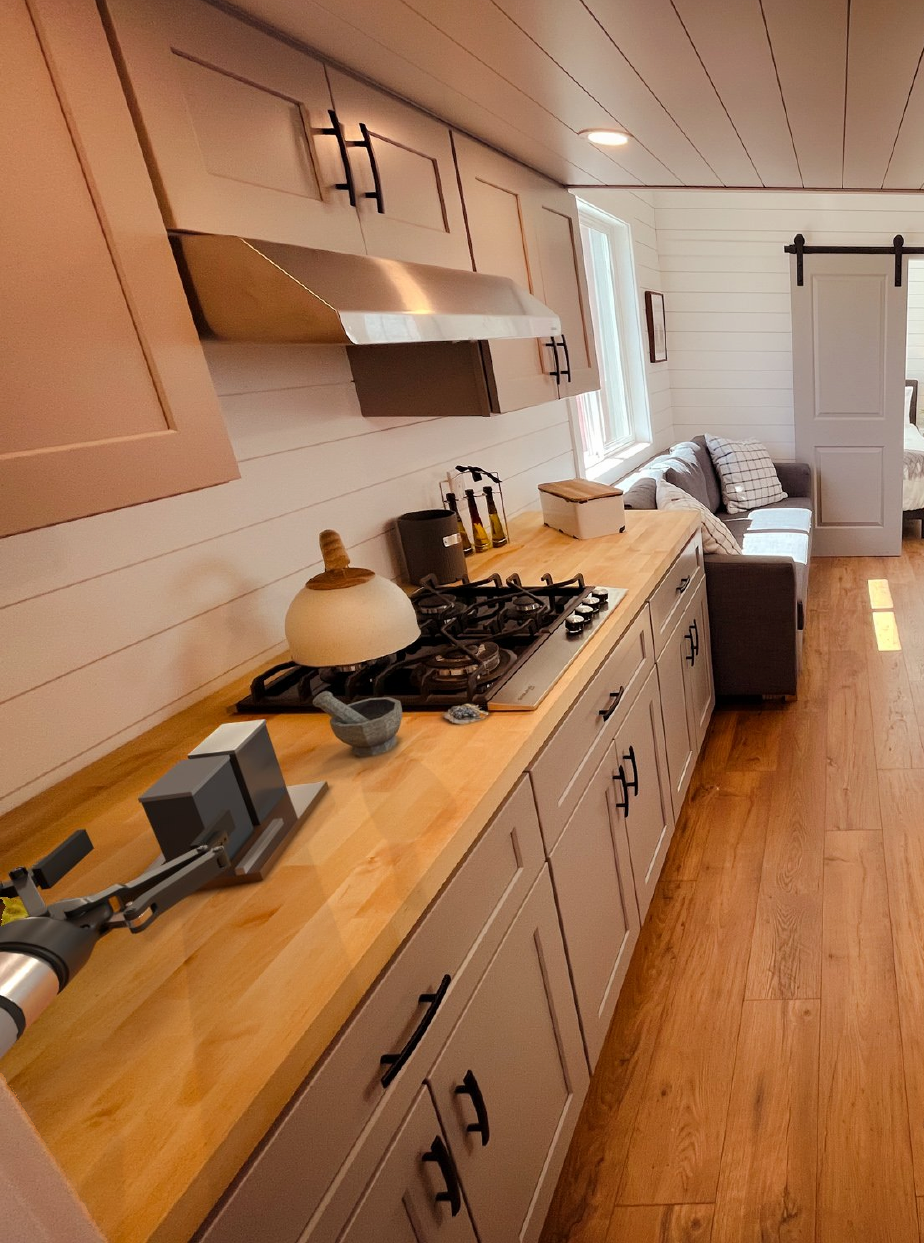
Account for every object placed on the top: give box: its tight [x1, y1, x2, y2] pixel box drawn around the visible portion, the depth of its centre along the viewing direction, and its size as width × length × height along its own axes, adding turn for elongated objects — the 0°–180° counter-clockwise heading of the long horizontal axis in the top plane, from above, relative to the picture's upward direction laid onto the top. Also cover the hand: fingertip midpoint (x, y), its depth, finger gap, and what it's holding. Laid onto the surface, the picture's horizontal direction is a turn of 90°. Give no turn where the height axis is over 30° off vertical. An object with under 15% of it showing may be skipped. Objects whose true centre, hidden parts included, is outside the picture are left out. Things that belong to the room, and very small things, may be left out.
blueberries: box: [441, 703, 489, 725], centre depth 126 cm, size 7×8×2 cm
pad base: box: [138, 719, 330, 893], centre depth 92 cm, size 14×20×14 cm
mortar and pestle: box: [312, 690, 403, 758], centre depth 113 cm, size 11×9×12 cm
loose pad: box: [137, 755, 255, 873], centre depth 87 cm, size 5×8×12 cm, turn 16°
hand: (159, 828), depth 80 cm, fingers open, 13 cm apart
